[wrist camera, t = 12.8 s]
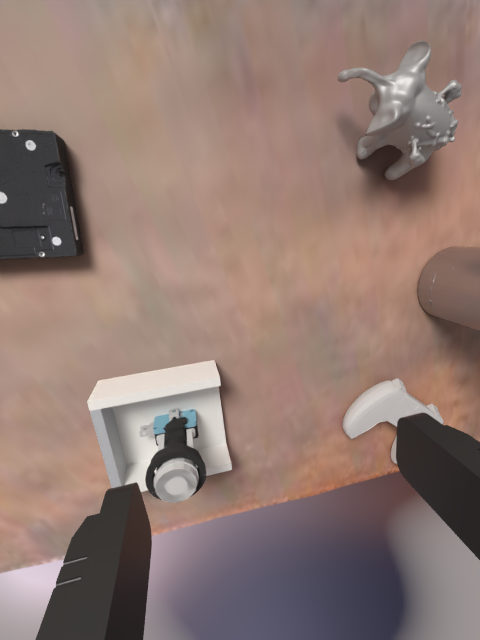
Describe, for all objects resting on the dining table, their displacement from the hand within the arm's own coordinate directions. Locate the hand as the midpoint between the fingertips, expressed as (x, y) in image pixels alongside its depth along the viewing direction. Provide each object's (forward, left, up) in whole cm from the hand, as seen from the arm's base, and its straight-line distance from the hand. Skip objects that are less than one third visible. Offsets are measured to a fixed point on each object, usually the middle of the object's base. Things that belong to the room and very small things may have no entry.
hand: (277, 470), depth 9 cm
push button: (+6, +14, -25) cm, 29 cm away
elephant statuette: (-20, -15, -26) cm, 36 cm away
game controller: (-24, +21, -26) cm, 41 cm away
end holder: (+6, +14, -26) cm, 30 cm away
